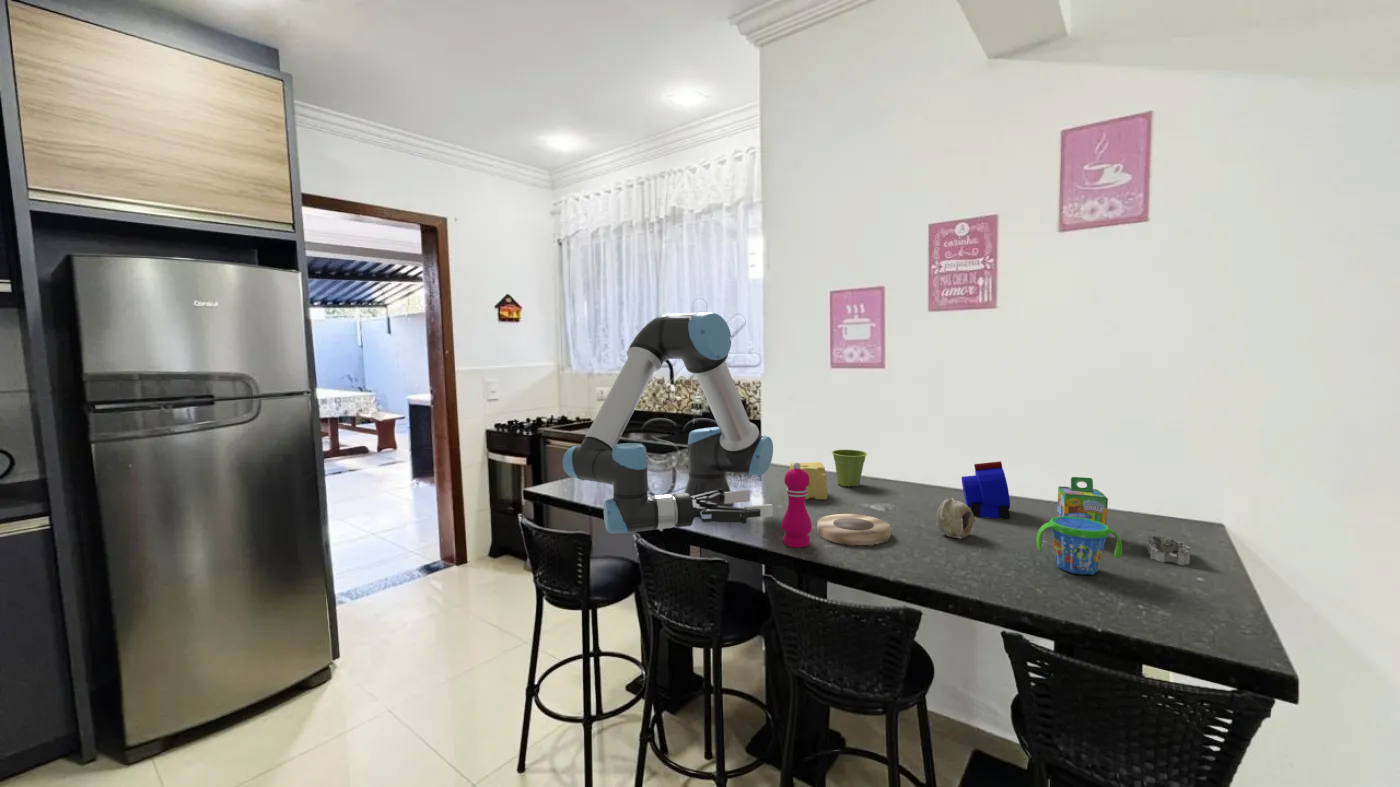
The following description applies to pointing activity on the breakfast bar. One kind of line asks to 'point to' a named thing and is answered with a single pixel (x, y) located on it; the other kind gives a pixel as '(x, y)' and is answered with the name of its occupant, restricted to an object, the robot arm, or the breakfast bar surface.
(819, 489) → the cheese
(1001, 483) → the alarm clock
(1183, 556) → the egg carton
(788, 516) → the pepper mill
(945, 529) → the sea shell
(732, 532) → the breakfast bar surface
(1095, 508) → the chalk box
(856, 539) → the oak base
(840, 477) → the plant pot
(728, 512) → the robot arm
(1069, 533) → the snack cup
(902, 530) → the breakfast bar surface
